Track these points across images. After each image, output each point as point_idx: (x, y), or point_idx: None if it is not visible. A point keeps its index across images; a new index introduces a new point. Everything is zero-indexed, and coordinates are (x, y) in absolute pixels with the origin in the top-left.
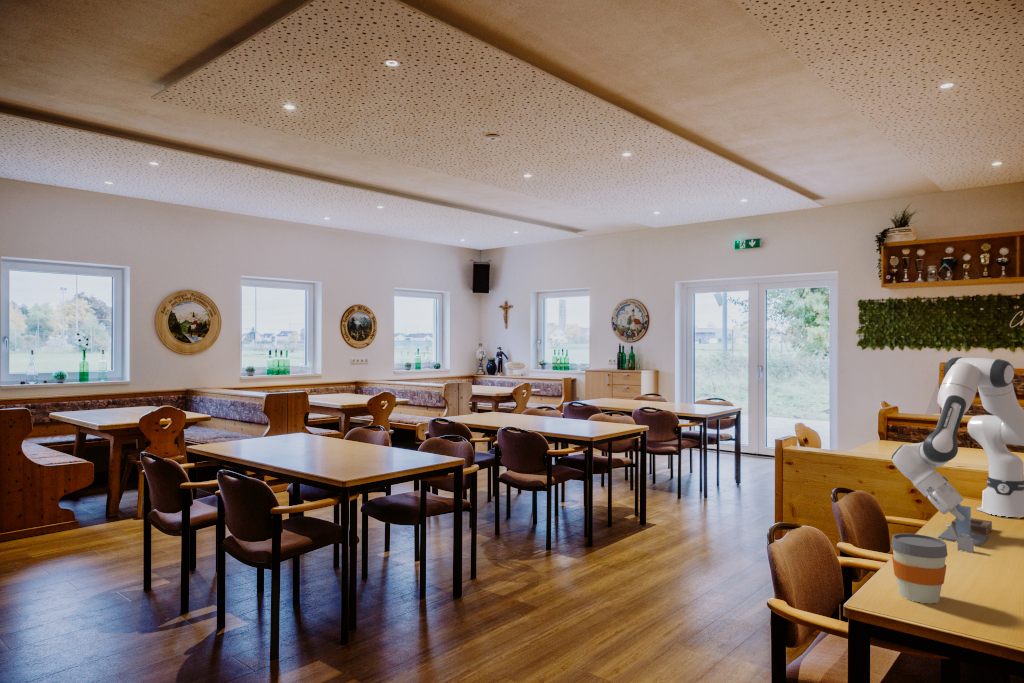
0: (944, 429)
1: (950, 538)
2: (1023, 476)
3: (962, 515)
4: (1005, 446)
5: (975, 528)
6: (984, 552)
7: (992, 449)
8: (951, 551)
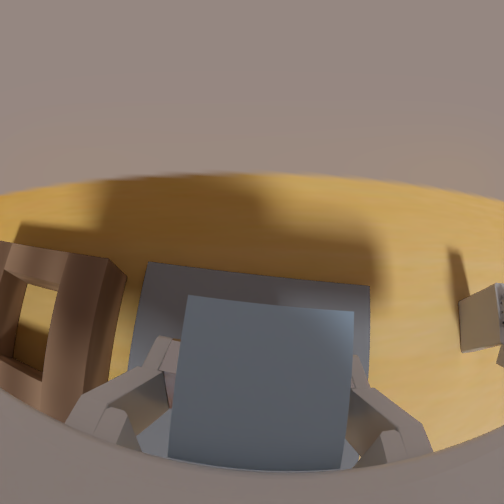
0: None
1: None
2: None
3: (364, 377)
4: None
5: (102, 312)
6: (438, 268)
7: None
8: (494, 360)
